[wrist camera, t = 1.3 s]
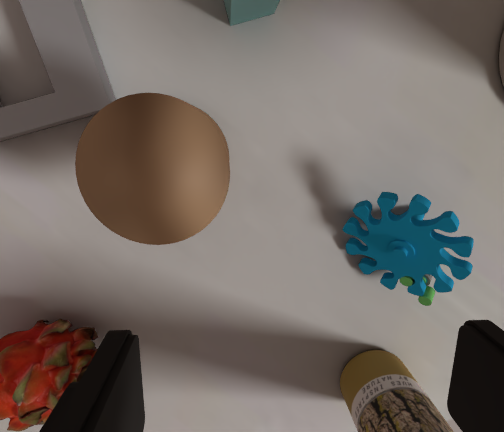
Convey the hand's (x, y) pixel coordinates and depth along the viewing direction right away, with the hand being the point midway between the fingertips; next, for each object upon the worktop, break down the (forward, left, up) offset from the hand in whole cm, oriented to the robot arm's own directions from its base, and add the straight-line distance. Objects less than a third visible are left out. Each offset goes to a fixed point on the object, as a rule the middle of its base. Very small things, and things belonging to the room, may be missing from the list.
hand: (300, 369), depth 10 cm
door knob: (+5, -5, -22) cm, 23 cm away
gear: (-11, +7, -22) cm, 26 cm away
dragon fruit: (+21, +9, -22) cm, 32 cm away
